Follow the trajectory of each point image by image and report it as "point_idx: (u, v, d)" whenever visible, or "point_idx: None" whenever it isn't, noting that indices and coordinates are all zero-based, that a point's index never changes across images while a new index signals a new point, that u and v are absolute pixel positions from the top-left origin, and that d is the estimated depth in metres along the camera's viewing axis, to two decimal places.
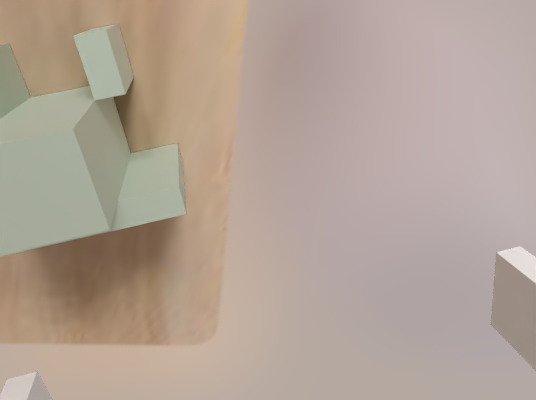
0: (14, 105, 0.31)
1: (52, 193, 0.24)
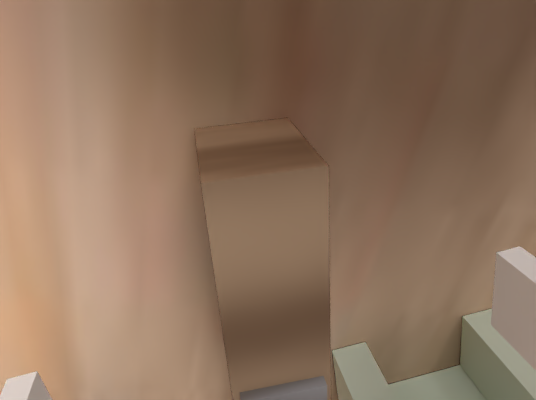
0: None
1: None
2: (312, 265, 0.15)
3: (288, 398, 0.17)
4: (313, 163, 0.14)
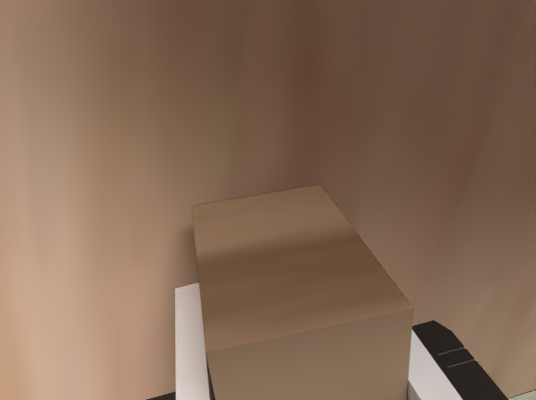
0: None
1: None
2: None
3: None
4: (386, 300, 0.09)
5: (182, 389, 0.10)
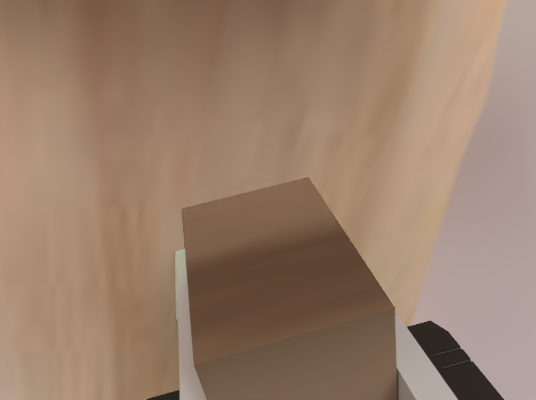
0: None
1: None
2: None
3: None
4: (368, 300, 0.09)
5: (186, 387, 0.10)
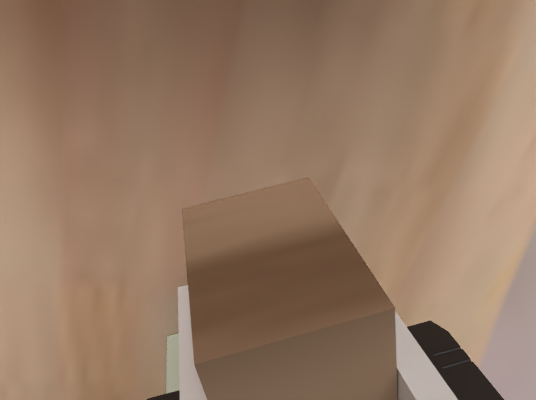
0: None
1: None
2: None
3: None
4: (368, 300, 0.09)
5: (186, 387, 0.10)
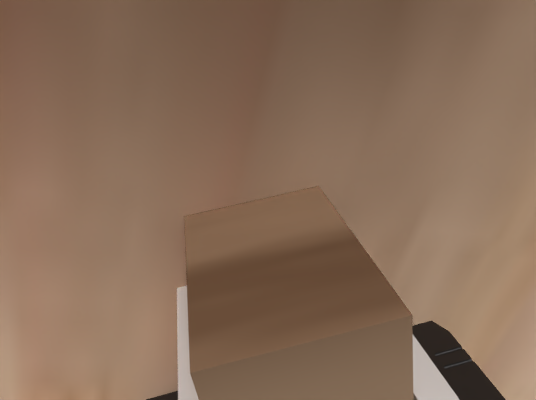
0: None
1: None
2: None
3: None
4: (383, 307, 0.08)
5: (184, 388, 0.10)
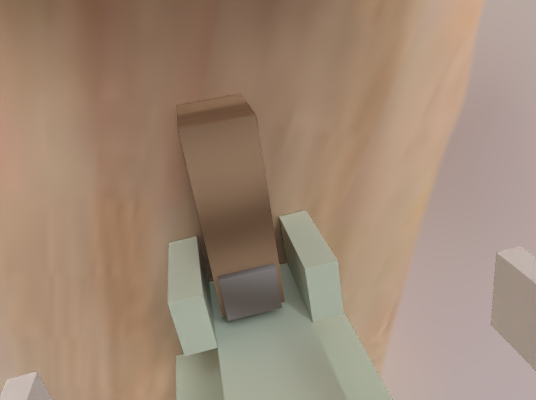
0: (212, 311, 0.30)
1: None
2: (255, 182, 0.24)
3: (250, 277, 0.26)
4: (247, 115, 0.23)
5: None
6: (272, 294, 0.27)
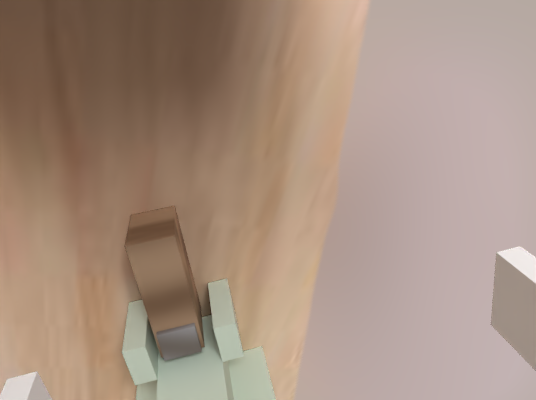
0: (158, 351, 0.43)
1: None
2: (177, 274, 0.38)
3: (177, 333, 0.39)
4: (170, 234, 0.36)
5: None
6: (194, 343, 0.40)
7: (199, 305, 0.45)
